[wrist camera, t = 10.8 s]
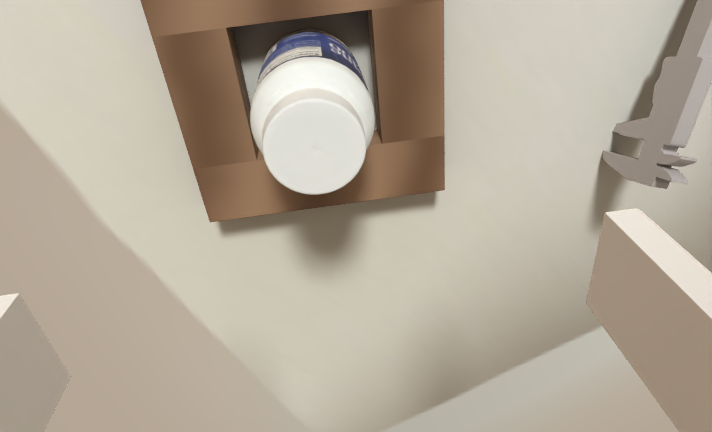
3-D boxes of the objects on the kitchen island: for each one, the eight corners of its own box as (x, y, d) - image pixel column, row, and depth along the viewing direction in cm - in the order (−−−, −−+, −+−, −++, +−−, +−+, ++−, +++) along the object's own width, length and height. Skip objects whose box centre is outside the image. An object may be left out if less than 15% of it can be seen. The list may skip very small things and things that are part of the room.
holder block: (432, -85, 23) (443, -85, 22) (436, 174, 31) (444, 189, 29) (138, -50, 23) (125, -47, 21) (215, 205, 30) (210, 222, 29)
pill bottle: (372, 104, 28) (403, 183, 20) (286, 138, 28) (281, 228, 20) (337, 9, 25) (356, 55, 17) (243, 49, 26) (216, 112, 17)
